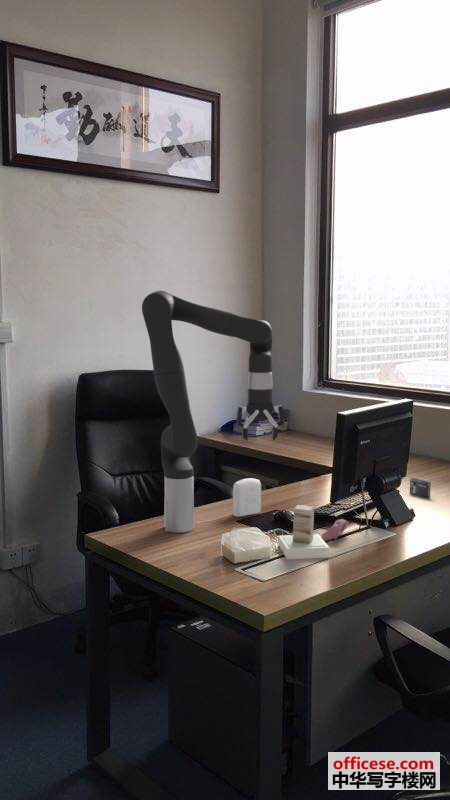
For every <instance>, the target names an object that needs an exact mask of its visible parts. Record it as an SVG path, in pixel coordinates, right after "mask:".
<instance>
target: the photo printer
mask: <svg viewBox="0 0 450 800" xmlns="http://www.w3.org/2000/svg"><path fill="white" fill-rule="evenodd" d="M261 510H262V483H261V481H260V479H256V478H253V477H251V478H250V477H248V478H243V479H239V480H238V481H235V483H233V486H232V514H233V516H234V517H236V518H238V517H239V518H240V517H245V516H250V515H257V514H260V513H261Z"/></svg>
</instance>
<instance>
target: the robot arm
mask: <svg viewBox="0 0 450 800" xmlns="http://www.w3.org/2000/svg"><path fill="white" fill-rule="evenodd" d="M141 312H142V316H143V319H144V324H145V327H146V330H147V335H148V338H149V343H150V344H149V346H150V352H151V353H150V354H151V361H152V366H153V367H152V369H153V374H154V375H153V376H154V381H155V385H156V386H155V387H156V390H157V393H158V394H159V397H160V399H161V401H162V403H163V405H164V407H165V409H166V411H167V413H168V416H169V420H170V422H169V423H170V425H168V426H166V427H165V429H164V430H163V431H162V434H161V436H160V437H161V438H160V454H161V455H160V456H161V457H160V458H161V465H162V469H163V472H164V473H163V474H164V475H163V476H164V498H163V499H164V504H163V507H164V512H163V513H164V519H163V520H164V530H165V532H167V533H179V534H181V533H188V532H191V531H193V530H194V529H195V505H194V504H195V502H194V501H195V496H194V495H195V492H194V489H195V486H194V484H195V481H194V480H195V477H194V476H195V475H194V474H195V473H194V471H195V470H194V466H193V465H192V464H191V462H190V460H189V457H191V456H192V455H193V454H194V453H195V452H196V451H197V447H198V434H197V430H196V427H195V422H194V419H193V416H192V415H193V414H192V411H191V405H190V400H189V399H190V398H189V392H188V388H187V387H188V386H187V381H186V379H187V378H186V373H185V369H184V368H185V367H184V363H183V360H182V356H181V354H180V351H179V349H178V346H177V344H176V341H175V337H174V333H173V332H174V331H173V323H172V321H178V322H184V323H187V324H190V325H191V324H192V325H193V326H196V327H199V328H200V329H203V330H206V331H209V332H210V333H211V332H212V333H215V334H218V335H222V336H226V337H231V338H237V339H240V340H242V341H245V342H249V355H248V374H247V404H246V406H241V405H237V407H236V422H235V424H236V425H237V427H240V428H241V436H242V438H243V440H244V441H245V442H247V441H248V440H249V439H248V438H249V432H248V431H249V430H248V429H249V428H248V427H249V425H250V424H251V423H252V422H253V421H255V422H256V421H267V420H268V422H269V423H270V424H271V425H272V426H271V439H272V440H273V441H276V439H277V438H278V429H279V427H282V426H283V425H284V424H285V421H284V407H283V406H282V405H281V404H278V405H275V406H274V405H273V403H274V402H273V395H274V392H273V390H274V387H273V385H274V384H273V382H274V380H273V358H272V349H273V348H272V347H273V334H274V333H273V331H274V330H273V328H272V325H271V324H270V323H269V322H268V321H267V320H263V319H254V318H251V317H245V316H242V315H239V314H237V313H234V312H229V311H225V310H222V309H219V308H214V307H213V308H212V307H208V306H205V305H200V304H196V303H193V302H190V301H188V300H185V299H183V298H180V297H179V296H176V295H173V294H171V293H169V292H167V291H164V290H157V291H154V292H151V293H149V294H148V295H146V297H144V299H143V300H142V304H141ZM274 411H275V412H276V413H277V421H275V419H274V417H273V416H272V414H273V412H274ZM245 412H247V414H248V415H247V416H246V417H245V420H244V422H243V419H242V418H243V417H242V416H243V414H245Z"/></svg>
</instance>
